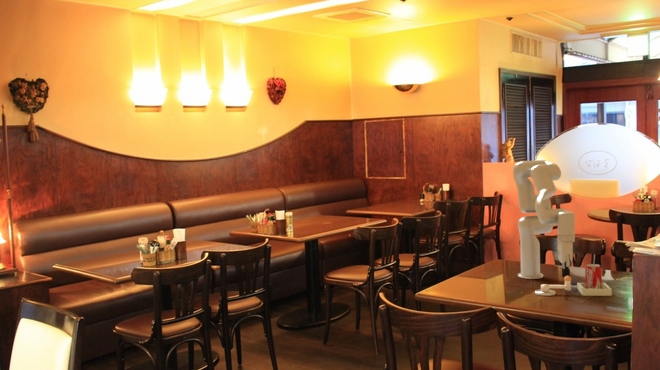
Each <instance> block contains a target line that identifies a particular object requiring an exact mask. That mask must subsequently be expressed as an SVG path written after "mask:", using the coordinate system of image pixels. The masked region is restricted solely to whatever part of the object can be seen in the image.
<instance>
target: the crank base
mask: <svg viewBox="0 0 660 370" xmlns="http://www.w3.org/2000/svg"><path fill="white" fill-rule="evenodd" d="M534 294H535V295H537V296H541V297H553V296H556V290H554V289H549V292H542V291H541V288H540V289H536V290H534Z"/></svg>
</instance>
